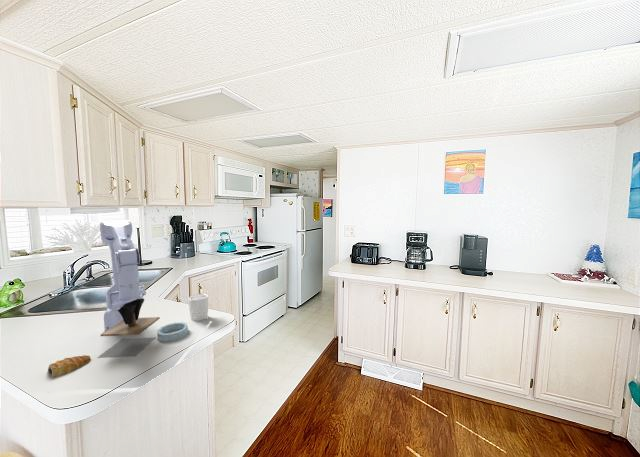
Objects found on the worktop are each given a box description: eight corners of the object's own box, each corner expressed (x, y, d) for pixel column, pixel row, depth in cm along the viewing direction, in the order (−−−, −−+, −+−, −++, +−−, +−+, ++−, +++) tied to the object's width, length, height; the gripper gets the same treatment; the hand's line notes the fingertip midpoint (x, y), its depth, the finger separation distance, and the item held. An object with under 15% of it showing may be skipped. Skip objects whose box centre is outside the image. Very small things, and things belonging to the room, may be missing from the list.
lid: (100, 336, 83) (99, 322, 83) (126, 320, 95) (125, 308, 94) (138, 334, 84) (137, 321, 83) (159, 318, 96) (158, 306, 95)
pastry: (87, 358, 84) (86, 347, 84) (94, 365, 80) (93, 353, 80) (46, 374, 76) (44, 362, 76) (52, 382, 72) (51, 370, 72)
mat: (97, 360, 83) (96, 357, 83) (122, 340, 95) (122, 338, 95) (135, 358, 84) (135, 356, 84) (156, 339, 96) (156, 337, 95)
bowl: (151, 343, 93) (151, 335, 92) (166, 330, 102) (166, 322, 102) (180, 342, 93) (180, 334, 93) (192, 329, 103) (191, 321, 103)
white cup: (201, 323, 108) (200, 300, 108) (185, 322, 110) (184, 299, 109) (212, 316, 116) (212, 294, 115) (197, 314, 118) (196, 293, 117)
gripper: (126, 290, 81) (129, 331, 82) (153, 277, 95) (155, 313, 97) (103, 291, 81) (106, 332, 82) (133, 278, 95) (136, 313, 96)
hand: (131, 322), depth 89 cm, fingers closed on lid, 2 cm apart
